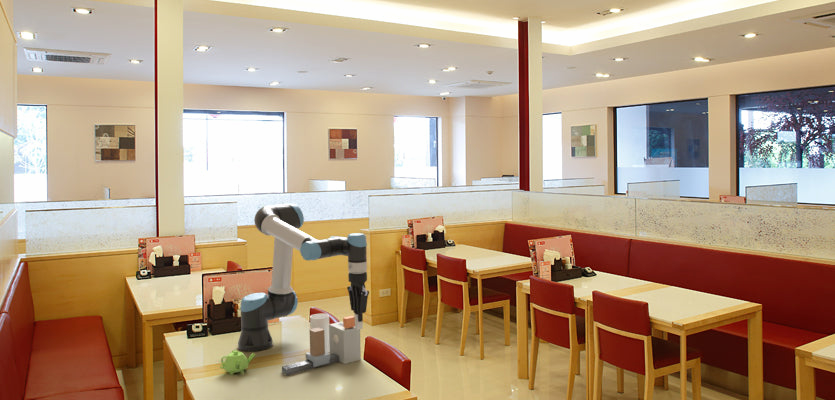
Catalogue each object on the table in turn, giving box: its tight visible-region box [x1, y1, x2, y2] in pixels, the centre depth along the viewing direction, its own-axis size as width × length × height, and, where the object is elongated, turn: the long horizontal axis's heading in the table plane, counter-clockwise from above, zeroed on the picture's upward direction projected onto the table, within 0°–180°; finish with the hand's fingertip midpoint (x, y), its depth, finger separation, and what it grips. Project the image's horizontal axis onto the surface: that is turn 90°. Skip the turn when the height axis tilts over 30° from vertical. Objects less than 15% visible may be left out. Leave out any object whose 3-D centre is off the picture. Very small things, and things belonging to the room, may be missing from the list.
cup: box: [309, 313, 330, 354], centre depth 254 cm, size 8×8×16 cm
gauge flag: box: [342, 315, 355, 328], centre depth 241 cm, size 2×4×4 cm, turn 129°
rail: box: [281, 353, 340, 376], centre depth 236 cm, size 4×24×2 cm, turn 129°
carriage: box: [305, 328, 330, 367], centre depth 237 cm, size 8×7×14 cm
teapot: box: [219, 350, 256, 376], centre depth 232 cm, size 11×12×8 cm
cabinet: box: [329, 320, 362, 365], centre depth 245 cm, size 12×8×14 cm
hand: (358, 328), depth 236 cm, fingers closed
